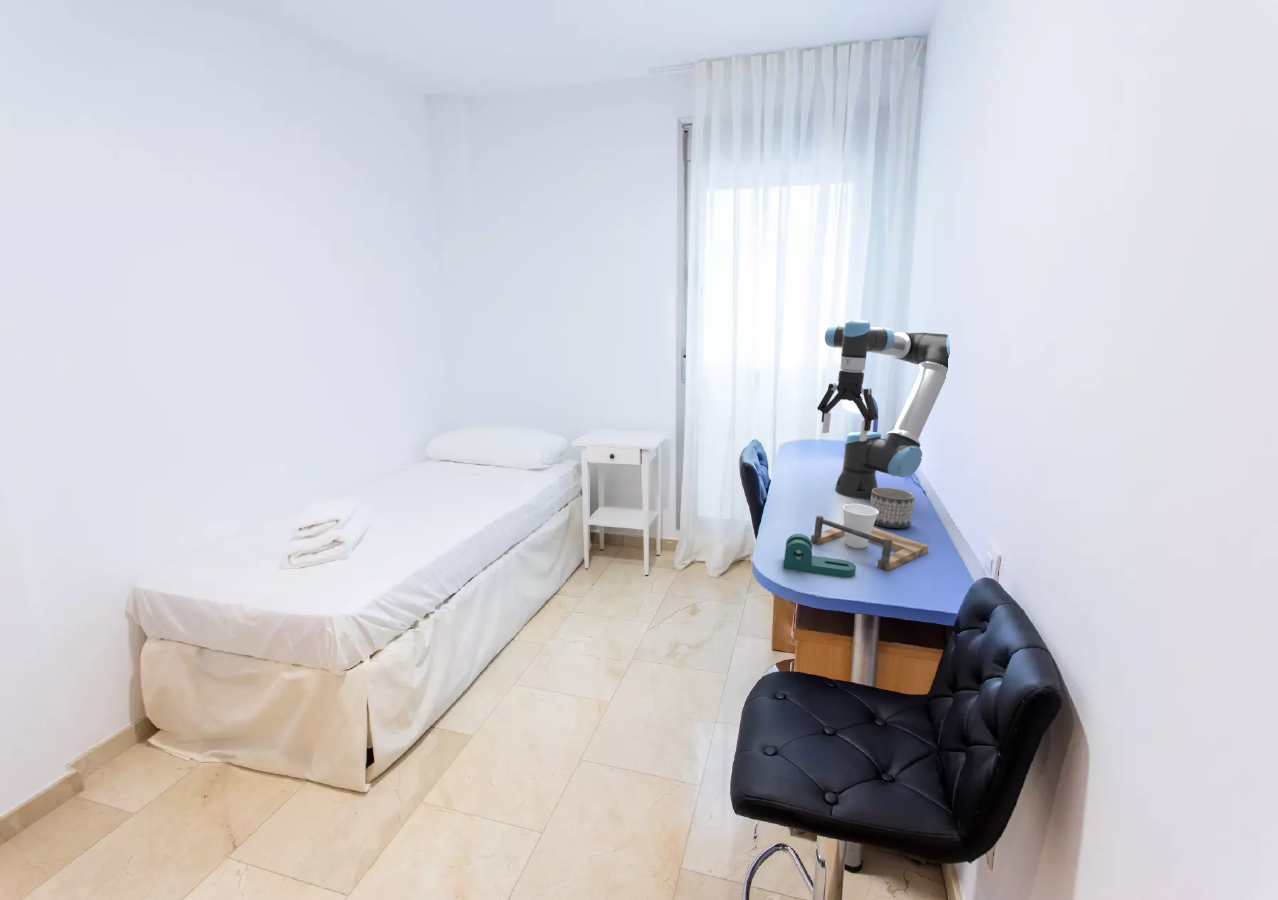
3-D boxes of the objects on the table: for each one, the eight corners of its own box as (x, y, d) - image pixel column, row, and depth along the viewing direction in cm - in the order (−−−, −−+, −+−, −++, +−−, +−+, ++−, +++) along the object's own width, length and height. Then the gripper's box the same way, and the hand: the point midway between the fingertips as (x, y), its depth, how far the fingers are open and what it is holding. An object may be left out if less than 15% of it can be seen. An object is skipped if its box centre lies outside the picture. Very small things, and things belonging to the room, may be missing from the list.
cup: (830, 540, 178) (834, 505, 175) (856, 536, 182) (861, 502, 179) (854, 553, 169) (859, 516, 167) (881, 549, 173) (886, 513, 171)
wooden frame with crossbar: (852, 526, 190) (855, 502, 188) (927, 552, 172) (931, 525, 170) (810, 541, 176) (813, 516, 175) (887, 571, 158) (891, 542, 157)
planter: (864, 515, 202) (868, 485, 199) (905, 519, 199) (909, 489, 197) (871, 528, 190) (875, 496, 187) (913, 532, 187) (918, 501, 185)
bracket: (783, 569, 158) (786, 541, 156) (784, 559, 164) (787, 532, 162) (855, 580, 153) (859, 551, 151) (854, 569, 159) (857, 541, 157)
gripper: (811, 366, 196) (804, 430, 201) (882, 375, 178) (873, 445, 183) (824, 366, 201) (817, 428, 206) (895, 374, 182) (886, 442, 187)
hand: (843, 436), depth 194 cm, fingers open, 13 cm apart
